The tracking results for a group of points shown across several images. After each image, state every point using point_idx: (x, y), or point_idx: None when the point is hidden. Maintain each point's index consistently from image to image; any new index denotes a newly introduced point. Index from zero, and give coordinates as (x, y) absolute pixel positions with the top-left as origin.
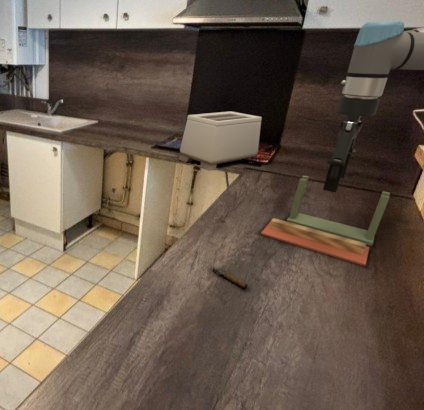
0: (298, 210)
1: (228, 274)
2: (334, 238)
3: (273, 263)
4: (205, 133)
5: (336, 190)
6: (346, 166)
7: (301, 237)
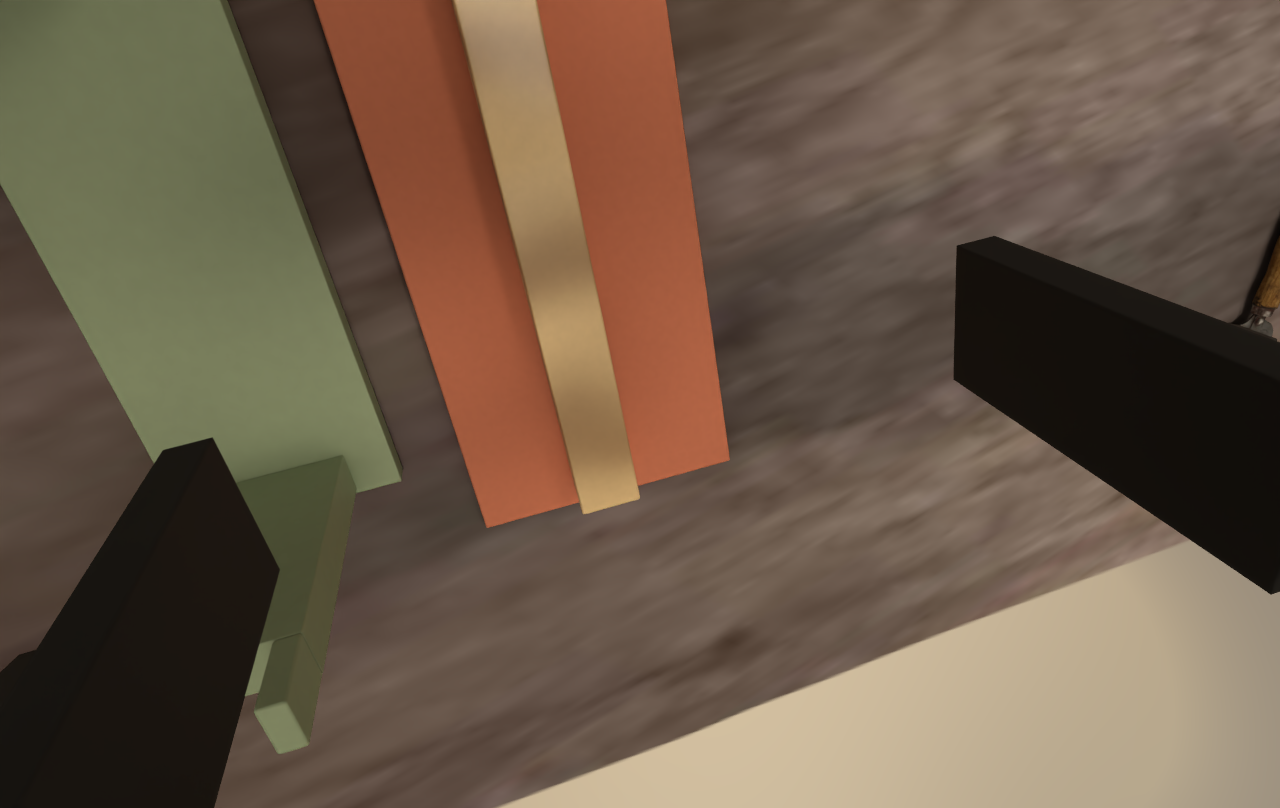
0: (266, 501)
1: (1277, 301)
2: (555, 96)
3: (1003, 237)
4: None
5: (1009, 243)
6: (153, 571)
7: None
